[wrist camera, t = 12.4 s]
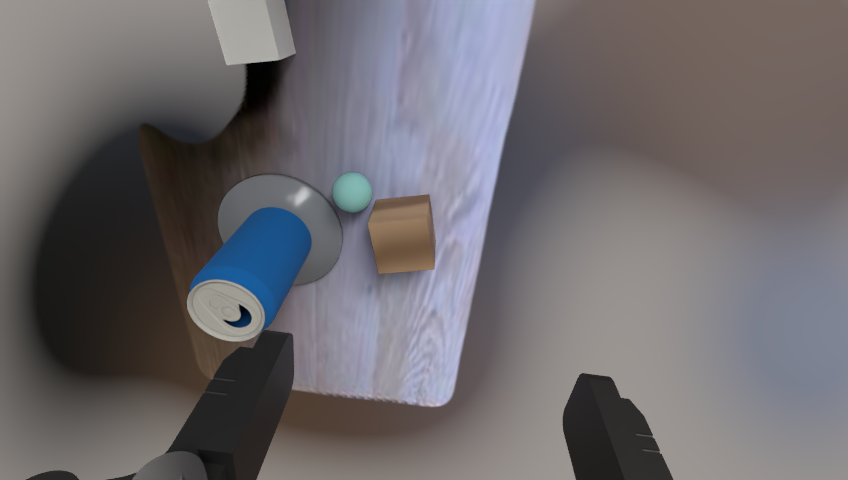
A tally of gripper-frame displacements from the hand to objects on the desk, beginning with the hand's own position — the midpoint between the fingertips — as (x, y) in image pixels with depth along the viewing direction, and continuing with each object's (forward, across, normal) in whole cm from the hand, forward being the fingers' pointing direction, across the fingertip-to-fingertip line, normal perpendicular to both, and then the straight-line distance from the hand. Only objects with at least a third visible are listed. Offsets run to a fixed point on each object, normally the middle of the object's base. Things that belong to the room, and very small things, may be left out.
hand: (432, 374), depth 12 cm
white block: (+28, +15, -6) cm, 33 cm away
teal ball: (+26, +7, +7) cm, 28 cm away
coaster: (+28, +14, +13) cm, 34 cm away
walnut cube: (+28, +2, +10) cm, 30 cm away
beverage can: (+28, +14, +13) cm, 34 cm away
